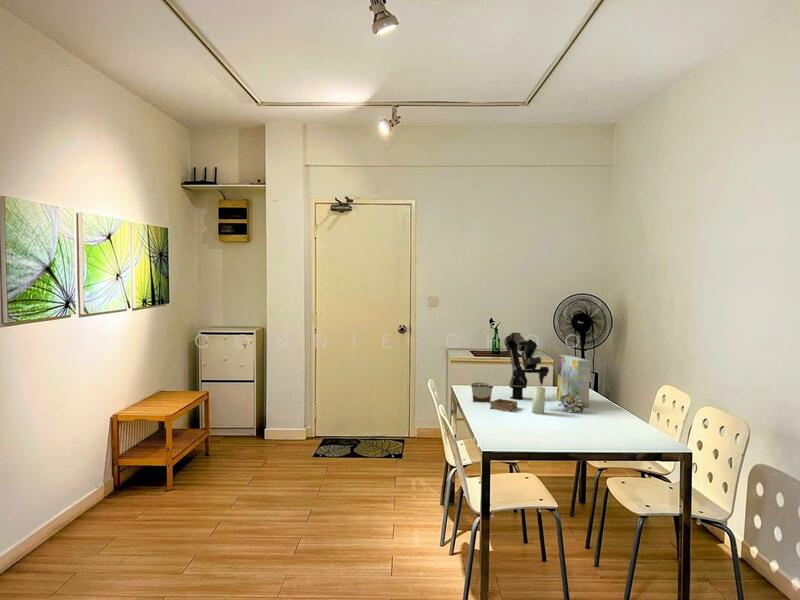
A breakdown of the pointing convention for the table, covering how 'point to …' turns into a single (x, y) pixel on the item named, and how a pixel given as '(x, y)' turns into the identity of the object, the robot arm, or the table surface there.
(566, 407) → the passion flower
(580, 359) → the snack box
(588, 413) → the table surface
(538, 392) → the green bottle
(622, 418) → the table surface
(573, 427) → the table surface
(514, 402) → the holder
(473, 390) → the food container
